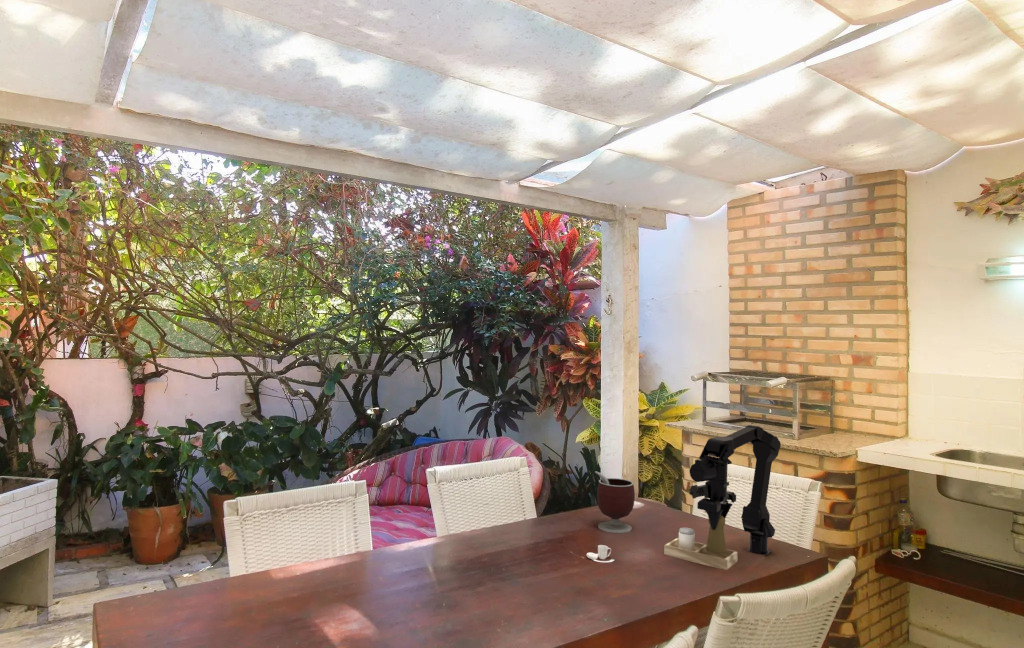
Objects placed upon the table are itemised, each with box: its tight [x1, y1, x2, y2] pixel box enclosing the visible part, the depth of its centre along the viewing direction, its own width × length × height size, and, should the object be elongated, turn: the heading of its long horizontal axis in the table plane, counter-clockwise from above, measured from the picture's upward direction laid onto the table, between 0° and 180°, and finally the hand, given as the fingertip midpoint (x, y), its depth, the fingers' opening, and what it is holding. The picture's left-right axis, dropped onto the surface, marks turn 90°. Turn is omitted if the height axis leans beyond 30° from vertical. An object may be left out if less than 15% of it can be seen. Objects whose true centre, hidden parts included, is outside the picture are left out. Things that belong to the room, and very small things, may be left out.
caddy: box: [663, 537, 739, 571], centre depth 207 cm, size 11×20×4 cm, turn 52°
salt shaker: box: [678, 527, 696, 551], centre depth 210 cm, size 5×5×8 cm
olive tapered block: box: [706, 515, 727, 553], centre depth 204 cm, size 6×6×11 cm
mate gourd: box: [594, 471, 636, 534], centre depth 239 cm, size 16×14×20 cm
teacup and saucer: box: [586, 544, 616, 563], centre depth 206 cm, size 9×8×4 cm
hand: (716, 527), depth 204 cm, fingers closed on olive tapered block, 5 cm apart
